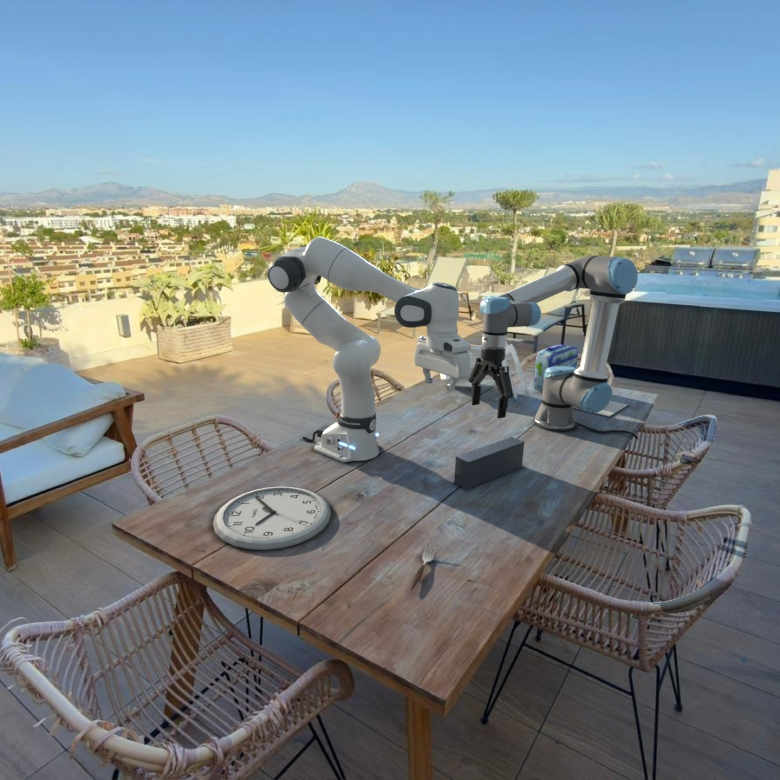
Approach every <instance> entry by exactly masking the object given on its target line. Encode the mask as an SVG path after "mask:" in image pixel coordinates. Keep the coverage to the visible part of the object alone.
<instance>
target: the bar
mask: <svg viewBox="0 0 780 780" xmlns="http://www.w3.org/2000/svg"><path fill="white" fill-rule="evenodd" d="M524 449H525V441H523V440H521V439H518V438H516V437H513V436H510V437H507V438H504V439H502V440H499V441H496V442H493V443H490V444H487V445H484V446H481V447H479V448H475V449H473V450H470V451H467V452H464V453H461V454H459V455H456V456H455V464H454V481H453V483H454V484H456V485H457V486H459V487H461V488H463V489H464V490H468V489H471V488H473V487H476V486H479V485H481V484H484V483H486V482H488V481H491V480H493V479H496V478H499V477H500V476H503V475H506V474H508V473H511V472H513V471H515V470H518V469H520V468H522V467H523V462H524V461H523V459H524Z"/></svg>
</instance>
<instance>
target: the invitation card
mask: <svg viewBox="0 0 780 780" xmlns="http://www.w3.org/2000/svg"><path fill="white" fill-rule="evenodd" d="M628 406H629V404H627V403H623V402H618V401H614V400H610V402H609V403H608V405H607V406H606V407H605V408H604V409H603V410H601V411H600V412H597V413H595V414H596V415H600V416H604V417H608V418H609V417H611V416H613V415H614V414H616V413H617V412H619V411H621V410H623V409H624V408H626V407H628ZM573 409H575V410H581V409H579V408H576V407H574V406H573ZM581 411H582V410H581Z"/></svg>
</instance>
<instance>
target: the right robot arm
mask: <svg viewBox="0 0 780 780" xmlns="http://www.w3.org/2000/svg"><path fill="white" fill-rule="evenodd" d="M638 278H639V275H638V269H637V266H636V264H635V263H634V262H633V261H632V260H631V259H630V258H627V257H620V256H607V255H605V256H604V255H587V256H583V257H580V258H578V259H575V260H571V261H569V262H567V263H565V264H563V265H560V266H559V267H558V268H557V269H556V271H553V272H551V273H549V274H547V275H544V276H541V277H540V278H537V279H534V280H532V281H529V282H528V283H526V284H524V285H521V286H518V287H517V288H515V289H512V290H510V291H507V292H504V293H503V294H500V295H498V296H495V295H489V296H485V297H484V298H483V299H482V300H481V301H480V303H479V311H480V314H481V316H482V317H483V321H482V336H481V337H482V338H481V345H483V347H482V348H481V357H480V358H476V363H475V366H474V368H473V371H472V373H471V375H470V377H469V382H468V383H471V395H472V396H471V406H477V405H480V403H481V391H482V384H481V383H482V382H483V381H484V379H485V378H486V377H487V376H489V377H491V379H492V380H493V381H494V383H495V385H496V388H497V391H498V394H499V396H500V397H499V398H498V404H497V414H496V415H497V416H496V418H497V419H505V418H506V417H507V409H508V405H509V399H513V398H515V397H514V395H513V390H512V385H511V381H510V376H509V371H510V366H509V365H508V366H502V361H503V360H504V359H505V350H506V349H505V348H504V347H506V341H507V339H508V338H507V337H508V329H509V328H523V327H527V328H528V327H532V326H533V327H534V326H536V325H537V324H538V323H539V322H540V320H541V318H542V310H541V307H540V306H539V304H538V303H540V302H543V301H545V300H547V299H549V298H551V297H554V296H556V295H558V294H561V293H563V292H572V291H575V290H577V289H579V290H580V289H583V290H585V289H587V290H589V297H590V298H591V299H592V303H591V308H590V312H589V313H590V314H589V319H588V323H587V329H586V333H585V338H584V343H583V348H582V352H581V353H582V354H581V359H580V363H579V366H578V368H577V367H576V368H575V367H568V366H555V367H549V368H547V369H546V370H545V375H544V378H543V390H542V391H541V402H540V405H539V407H538V410H537V411H536V413H535V416H534V424H535V425H536V426H537V427H539V428H542V429H544V430H549V431H556V432H567V431H572V430H574V429H575V428H576V425H577V426H580V427H582V428H583V429H586V430H589V431H592V432H595V433H599V434H611V433H620V434H621V433H622V434H628V435H631V436H632V437H634V439H636V440H639V437H638V435H637V434H636V433H634V432H633V431H630V430H623V429H609V430H600V429H595V428H593V427H591V426H587V425H586V424H582V423H580V422H577V421H576V418H575V417H576V416H575V413H574V407H576V408H579V409H578V410H580V409H581V411H582V412H587V413H590V414H596V413H597V412H600V411H601V410H603V409H604V408H605V407H606V406H607V405H608V403H609V402H610V401H612V397H613V389H612V386H611V385H610V384H609V383H608V380H609V375H608V374H607V373H606V368H607V363H608V358H609V354H610V350H611V343H612V340H613V336H614V335H613V334H614V330H615V327H616V326H615V325H616V321H617V318H618V317H617V316H618V312H619V307H620V304H621V303H622V302H624V301H625V300H626V298H627V295H628V294H631V293H632V292H633V291H634V289H635V288H636V286H637V284H638V280H639V279H638ZM507 342H508V341H507ZM576 408H575V409H576Z"/></svg>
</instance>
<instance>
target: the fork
mask: <svg viewBox="0 0 780 780" xmlns="http://www.w3.org/2000/svg"><path fill="white" fill-rule="evenodd" d="M428 545H429V546H428ZM431 545H432V547H431ZM434 545H435V544H434V543H431V542H430V543H429V542H427V544H426V546H425V549H424V552H423V555H422V561H423V564H422V565H421V566H420V568H419V569H418V570H417V572H416V575H415V576H414V579H413V583H412V585H411V589H410V591H413V589H415V587H416V585H417V583H418V582H419V580H420V579H421V577H422V575H423V573H424V570H425V566H426V564H428V563H431V562H432V561H434V560H435V554H436V549H437V545H438V544H436V545H435V548H434ZM430 549H431V550H430ZM433 549H434V551H433Z"/></svg>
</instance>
